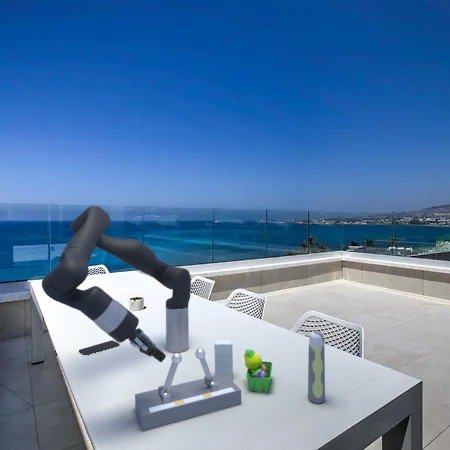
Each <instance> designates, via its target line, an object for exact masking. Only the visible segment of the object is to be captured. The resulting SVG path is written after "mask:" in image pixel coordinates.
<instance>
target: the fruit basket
mask: <svg viewBox="0 0 450 450" xmlns="http://www.w3.org/2000/svg"><path fill="white" fill-rule="evenodd" d="M243 358H244V365H245V367H246V368H247V371H246V374H245V376H246V380H247V382H248V385H249V387H248V388H249V389H250V392H256V393H257V392H259V393H268V390H269V386H270V382H271V380H272V371H273V362H271V361H263V360H262V357H261V355H259V354H258V353H257V352H255V351H254V350H253V349H251V348H250V349H245V352H244V354H243Z"/></svg>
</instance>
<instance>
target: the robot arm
mask: <svg viewBox="0 0 450 450" xmlns="http://www.w3.org/2000/svg"><path fill="white" fill-rule="evenodd" d="M111 222H112V221H111V217H110V215H109V214H108V212H107V211H106V210H105V209H103V208H102V207H101V206H98V205H91V206H89V207H87V208H86V209H84V211H82V213H79V215H78V216H77V217H75V219H73V221H72V222H71V223H70V226H69V227H70V230H71V232H72V233H73V234H74V235H73V237H71V238H70V239H69V241H68V242H67V244H66V245H65V247H64V249H63V251H62V252H61V255H60V256H59V259H58V262H59V263H58V264H57V265H55V267H53V269H51V271H49V272H48V273H47V274H46V275H45V276H44V277H43V279H42V280H41V288H42V291H43V292H44V293H45V295H46V296H47V297H49V298H50V299H51V300H53V301H55V302H57V303H60V304H62V305H65V306H68V307H70V308H72V309H75V310H77V311H80V312H81V313H82V314H83V315H84V316H86V317H87V318H88V319H90V320H91V321H92V322H93V323H94V324H95V325H96V326H97V327H98V328H99V329H100V330H102V331H103V332H104V333H105V334H107V335H108V336H109V337H110V338H112V340H113V341H115V342H117V343H119V344H121V343H124V342H126V340H128V341H129V343H130V345H131V346H132V347H134V348H136V349H138V351H139V353H142V354H143V355H144V354H145V355H146V356H148V357H153V358H154V359H155V360H157V361H158V362H159V363H162V362H163V361H164V360H165V359H166V357H167V356H166V354H165V353H164V352H163V351H162V350H161V349H160V348H158V347H157V346H156V344H155V343H153V341H152V339H151V338H150V337H149V335H147V334H146V333H145V332H144V331H143V329H142V328H140V327H138V326H139V322H140V320H139V318H138V317H137V316H136V315H135V314H134V313H132V312H131V311H130V310H129V309H128V308H127V307H125V306H124V305H123V304H122V303H121V302H119V301H117V300H116V299H114V298H113V297H112V296H110V295H109V294H108V293H107V292H106V291H105V290H103V289H102V288H101V287H99V286H97V285H93V286H91V287H89V288H86V289H81V288H80V289H79V288H78V287H80V286H81V285H82V284H83V283H84V282H85V281H86V279H87V277H88V276H89V272H90V271H89V262H90V259H91V258H92V255H93V252H94V250H95V248H98V249H99V250H101V251H104V252H106V253H108V254H110V255H111V256H113V257H115V258H117V259H118V260H119V261H122V262H124V263H125V264H126V265H128V266H130V267H132V268H134V269H136V270H138V271H140V272H141V273H143V274H145V275H147V276H149V277H151V278H153V279H155V281H157V282H159V283H160V284H161V285H162V286H163V287H165V288H167V289H168V290H172V294H171V297H169V298H166V300H165V348H166V349H165V350H166V351H167V352H170V353H182V352H185V351H187V350H188V349H189V347H190V343H189V342H190V340H189V339H190V338H189V337H190V334H189V332H190V330H189V329H190V328H189V325H190V324H189V321H190V319H189V318H190V317H189V315H190V314H189V304H190V299H191V291H192V290H191V287H192V277H191V274H190V271H189V270H188V269H187V268H184V267H178V266H177V267H176V266H173V265H169V264H168V263H165V262H164V261H162V260H160V259H159V258H158V256H157V255H156V253H155V252H154V250H152V249H151V248H150V247H149V246H148V245H146V244H144V243H143V242H141V241H140V240H138V239H135V238H134V239H133V238H124V237H112V236H110V235H106V234H104V233H105V232H106V231H107V230H108V229H109V227H110V226H111V224H112V223H111ZM137 327H138V328H137Z"/></svg>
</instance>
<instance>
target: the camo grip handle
mask: <svg viewBox="0 0 450 450" xmlns="http://www.w3.org/2000/svg"><path fill="white" fill-rule="evenodd" d="M308 337H309V339H308V367H307V368H308V373H307V375H308V377H307V397H308V400H309V402H312V403H314V404H322V403H324V402H325V401H326V376H325V375H326V369H325V367H326V363H325V361H326V360H325V356H326V354H325V338H324V335H323V334H322V332H321V331H319V330H314V331H311V332H310V333H309V335H308Z"/></svg>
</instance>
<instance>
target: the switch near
mask: <svg viewBox="0 0 450 450" xmlns="http://www.w3.org/2000/svg"><path fill="white" fill-rule="evenodd" d="M170 361H171V363H170V367H169V370H168V372H167V375H166V378H165V381H164V384H163V385H164V387H163V388H162V389H161V390H160V394H161V396H162V398H163V396H165V395H168V393H169V390H170V387H171V386H172V384H173V381H174V377H175V376H176V371H177V369H178V366H179V364H181V362H182V361H183V356H182V354H181V352H173V354H172V355H171V358H170Z"/></svg>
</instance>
